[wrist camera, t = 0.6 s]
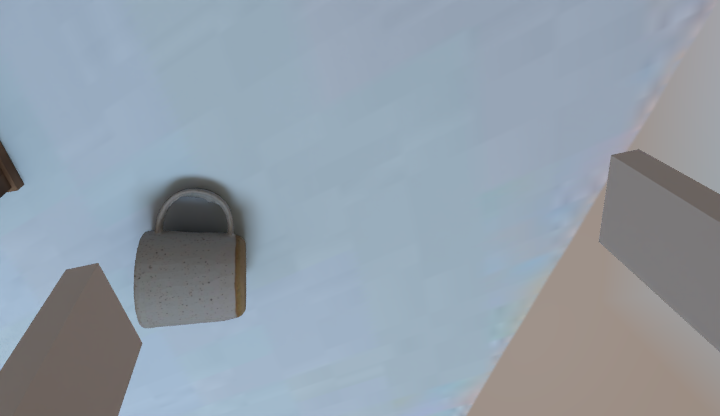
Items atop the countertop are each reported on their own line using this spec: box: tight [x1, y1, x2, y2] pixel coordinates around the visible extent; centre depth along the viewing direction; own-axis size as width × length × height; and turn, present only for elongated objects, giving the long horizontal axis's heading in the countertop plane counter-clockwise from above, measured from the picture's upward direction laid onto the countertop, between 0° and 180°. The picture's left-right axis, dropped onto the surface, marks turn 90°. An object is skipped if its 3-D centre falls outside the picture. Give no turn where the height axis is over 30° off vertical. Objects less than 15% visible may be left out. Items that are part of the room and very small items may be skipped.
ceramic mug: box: [134, 188, 246, 328], centre depth 37 cm, size 11×8×8 cm
